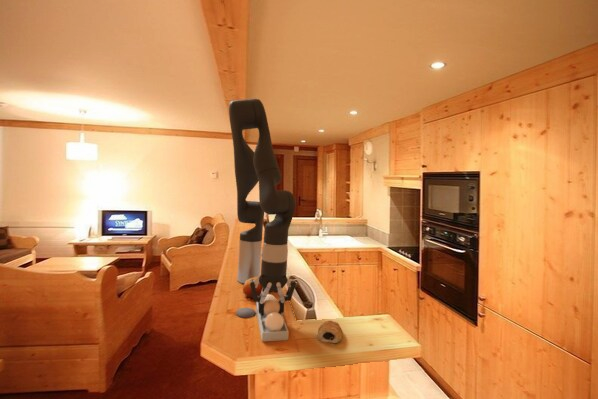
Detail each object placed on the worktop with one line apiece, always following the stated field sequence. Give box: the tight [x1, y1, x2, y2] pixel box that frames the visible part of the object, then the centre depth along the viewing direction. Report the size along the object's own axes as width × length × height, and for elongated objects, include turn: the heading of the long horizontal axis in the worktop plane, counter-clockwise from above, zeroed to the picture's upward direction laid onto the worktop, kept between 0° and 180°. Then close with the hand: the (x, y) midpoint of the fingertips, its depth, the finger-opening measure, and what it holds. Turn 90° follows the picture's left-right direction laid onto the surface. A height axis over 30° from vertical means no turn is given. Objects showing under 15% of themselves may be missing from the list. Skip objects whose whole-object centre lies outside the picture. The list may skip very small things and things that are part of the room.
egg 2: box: [265, 312, 284, 332], centre depth 80 cm, size 5×5×5 cm
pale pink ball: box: [264, 297, 280, 315], centre depth 86 cm, size 5×5×5 cm
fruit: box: [242, 276, 263, 299], centre depth 105 cm, size 8×8×8 cm
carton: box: [255, 302, 290, 342], centre depth 86 cm, size 19×7×2 cm, turn 13°
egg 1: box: [264, 293, 277, 302], centre depth 92 cm, size 5×5×5 cm
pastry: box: [316, 320, 343, 344], centre depth 82 cm, size 9×7×4 cm
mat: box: [235, 307, 256, 319], centre depth 91 cm, size 6×6×1 cm
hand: (271, 313), depth 86 cm, fingers closed on pale pink ball, 4 cm apart
